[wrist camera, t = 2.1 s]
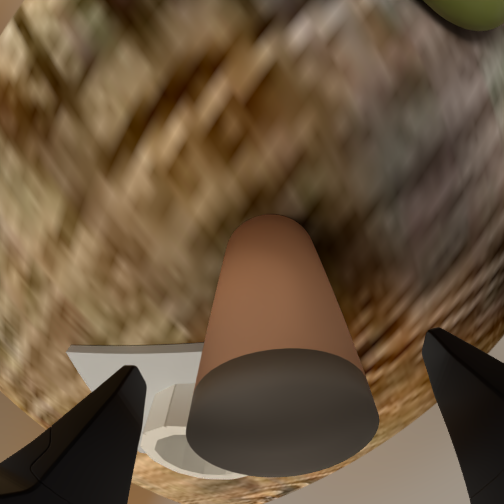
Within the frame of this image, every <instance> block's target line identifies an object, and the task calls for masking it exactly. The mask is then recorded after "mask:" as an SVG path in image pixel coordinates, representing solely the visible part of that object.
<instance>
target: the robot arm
mask: <svg viewBox="0 0 504 504" xmlns="http://www.w3.org/2000/svg"><path fill="white" fill-rule="evenodd" d="M422 356H423V359H424V362H425V366H426V369H427V372H428V375H429V379H430V382H431V385H432V389H433V392H434V395H435V398H436V401H437V403H438V406H439V408H440V411H441V413H442V416H443V418H444V421H445V424H446V426H447V429H448V432H449V434H450V437H451V440H452V443H453V446H454V448H455V451H456V454H457V457H458V460H459V464H460V467H461V470H462V473H463V476H464V480H465V483H466V487H467V491H468V494H469V498H470V503H471V504H504V363H502V362H500V361H499V360H497V359H495V358H494V357H492V356H490V355H488V354H487V353H485V352H483V351H481V350H479V349H478V348H476V347H474V346H472V345H471V344H469V343H467V342H465V341H463V340H462V339H460V338H458V337H456V336H454V335H453V334H451V333H449V332H447V331H445V330H444V329H442V328H439V327H437V328H433V329H430V330H428V331H427V333H426V336H425V340H424V344H423V348H422ZM146 392H147V385H146V382H145V380H144V378H143V376H142V374H141V373H140V371H139V369H138V367H137V366H135V365H124V366H122V367H121V368H120V369H119V370H118V371H116V372H115V373H114V374H113V375H112V376H111V377H109V378H108V379H107V380H106V381H105V382H103V383H102V384H101V385H100V386H99V387H97V388H96V389H95V390H94V391H93V392H91V393H90V394H89V395H88V396H87V397H85V398H84V399H83V400H82V401H81V402H79V403H78V404H77V405H76V406H75V407H74V408H72V409H71V410H70V411H69V412H68V413H66V414H65V415H64V416H63V417H62V418H60V419H59V420H58V421H57V422H56V423H54V424H53V425H52V427H49V428H48V429H47V430H46V431H45V432H43V433H42V434H41V435H40V436H38V437H37V438H36V439H35V440H33V441H32V442H31V443H29V444H28V445H26V446H25V447H24V448H22V449H21V450H19V451H18V452H16V453H15V454H13V455H12V456H10V457H9V458H7V459H6V460H4V461H3V462H1V463H0V504H127V502H128V496H129V490H130V485H131V480H132V474H133V469H134V464H135V459H136V455H137V450H138V445H139V441H140V436H141V431H142V425H143V417H144V408H145V399H146Z"/></svg>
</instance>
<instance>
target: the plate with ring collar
mask: <svg viewBox="0 0 504 504" xmlns="http://www.w3.org/2000/svg"><path fill="white" fill-rule="evenodd" d="M203 346H204V343H191V344H172V345H144V346H82V345H70V347H69V348H68V350H67V351H66V353H67V354H68V356H69V358H70V359H71V361H72V363H73V364H74V366H75V368H76V369H77V371H78V372H79V374H80V375H81V377H82V378H83V380H84V381H85V383H86V384H87V386H88V387H89V389H90V390H91V392H93V391H94V390H95V389H96V388H97V387H99V386H100V385H101V384H102V383H103V382H105V381H106V380H107V379H108V378H109V377H111V376H112V375H113V374H114V373H115V372H116V371H118V370H119V369H120V368H121V367H122V366H124V365H135V366H137V367H138V369H139V371H140V373H141V374H142V376H143V378H144V380H145V382H146V385H147V392H146V399H145V408H144V417H143V425H142V431H141V436H140V441H139V445H138V451H139V452H140V453H147V454H148V456H149V457H150V458H151V459H152V460H154V461H155V462H157V463H159V464H161V465H163V466H165V467H167V468H169V469H171V470H173V471H177V472H178V473H182V474H186V475H190V476H194V477H198V478H204V479H236V478H240V477H244V476H248V475H243V474H238V473H234V472H230V471H227V470H224V469H221V468H219V467H217V466H214V465H212V464H211V463H209V462H207V461H205V460H204V459H202V458H201V457H200V456H198V455H197V454H196V453H195V452H194V451H193V450H192V448H191V447H190V445H189V443H188V442H187V438H186V427H187V422H188V417H189V412H190V407H191V402H192V397H193V392H194V388H195V383H196V378H197V374H198V369H199V364H200V360H201V355H202V350H203Z"/></svg>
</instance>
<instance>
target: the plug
mask: <svg viewBox="0 0 504 504" xmlns="http://www.w3.org/2000/svg"><path fill="white" fill-rule="evenodd" d="M378 426H379V415H378V412H377V409H376V406H375V403H374V400H373V397H372V394H371V391H370V388H369V385H368V382H367V379H366V376H365V373H364V371H363V368H362V365H361V362H360V360H359V357H358V354H357V351H356V349H355V346H354V343H353V341H352V338H351V335H350V333H349V330H348V327H347V325H346V322H345V320H344V317H343V314H342V312H341V309H340V307H339V304H338V302H337V299H336V297H335V294H334V292H333V289H332V287H331V285H330V282H329V280H328V277H327V275H326V273H325V270H324V268H323V265H322V263H321V261H320V258H319V256H318V254H317V251H316V249H315V247H314V244H313V242H312V240H311V238H310V236H309V234H308V233H307V231H306V230H305V229H304V228H303V227H302V226H301V225H300V224H299V223H297V222H296V221H294V220H292V219H290V218H288V217H285V216H281V215H274V214H267V215H260V216H256V217H253V218H251V219H249V220H247V221H245V222H244V223H242V224H241V225H240V226H239V227H238V228H237V229H236V230H235V231H234V232H233V234H232V235H231V237H230V239H229V241H228V244H227V247H226V251H225V255H224V260H223V264H222V268H221V272H220V276H219V280H218V285H217V289H216V293H215V297H214V302H213V306H212V310H211V315H210V319H209V324H208V328H207V332H206V337H205V341H204V346H203V350H202V355H201V360H200V364H199V369H198V374H197V378H196V383H195V388H194V392H193V397H192V402H191V407H190V412H189V417H188V422H187V427H186V438H187V442H188V443H189V445H190V447H191V448H192V450H193V451H194V452H195V453H196V454H197V455H198V456H200V457H201V458H202V459H204V460H205V461H207V462H209V463H211V464H212V465H214V466H217V467H219V468H221V469H224V470H227V471H230V472H234V473H238V474H243V475H249V476H257V477H288V476H297V475H303V474H308V473H312V472H316V471H320V470H323V469H326V468H329V467H332V466H334V465H336V464H339V463H341V462H343V461H345V460H347V459H348V458H350V457H352V456H353V455H355V454H356V453H358V452H359V451H360V450H362V449H363V448H364V447H365V446H366V445H367V444H368V443H369V442H370V441H371V440H372V438H373V437H374V435H375V434H376V431H377V429H378Z"/></svg>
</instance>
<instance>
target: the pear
mask: <svg viewBox="0 0 504 504" xmlns="http://www.w3.org/2000/svg"><path fill="white" fill-rule="evenodd" d="M423 1H424V2H425V3H426V4H427V5H428V6H430V7H431V8H432V9H433V10H434V11H435V12H436V13H437V14H439V15H440V16H441V17H443V18H444V19H446V20H447V21H449V22H451V23H453V24H455V25H457V26H459V27H462V28H464V29H468V30H473V31H487V30H491V29H494V28H496V27H498V26H500V25H501V24H503V23H504V0H423Z"/></svg>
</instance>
